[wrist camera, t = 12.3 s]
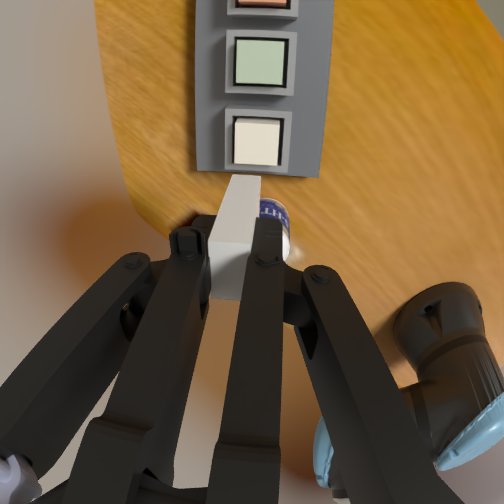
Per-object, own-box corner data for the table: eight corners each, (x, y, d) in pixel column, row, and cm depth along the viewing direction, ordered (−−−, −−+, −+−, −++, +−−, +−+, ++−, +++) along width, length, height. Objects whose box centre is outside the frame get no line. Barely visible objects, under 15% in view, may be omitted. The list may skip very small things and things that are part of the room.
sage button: (281, 81, 25) (282, 84, 22) (240, 80, 25) (235, 82, 22) (283, 43, 23) (284, 41, 20) (241, 41, 23) (237, 40, 20)
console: (316, 170, 32) (321, 188, 28) (201, 164, 33) (190, 180, 29) (331, -34, 19) (340, -47, 16) (202, -38, 20) (191, -51, 16)
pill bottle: (296, 205, 35) (300, 252, 27) (279, 242, 38) (278, 294, 30) (249, 189, 34) (241, 233, 27) (235, 228, 37) (224, 278, 30)
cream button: (277, 155, 29) (277, 165, 26) (238, 152, 29) (234, 163, 26) (279, 118, 27) (279, 124, 24) (239, 116, 27) (235, 122, 24)
